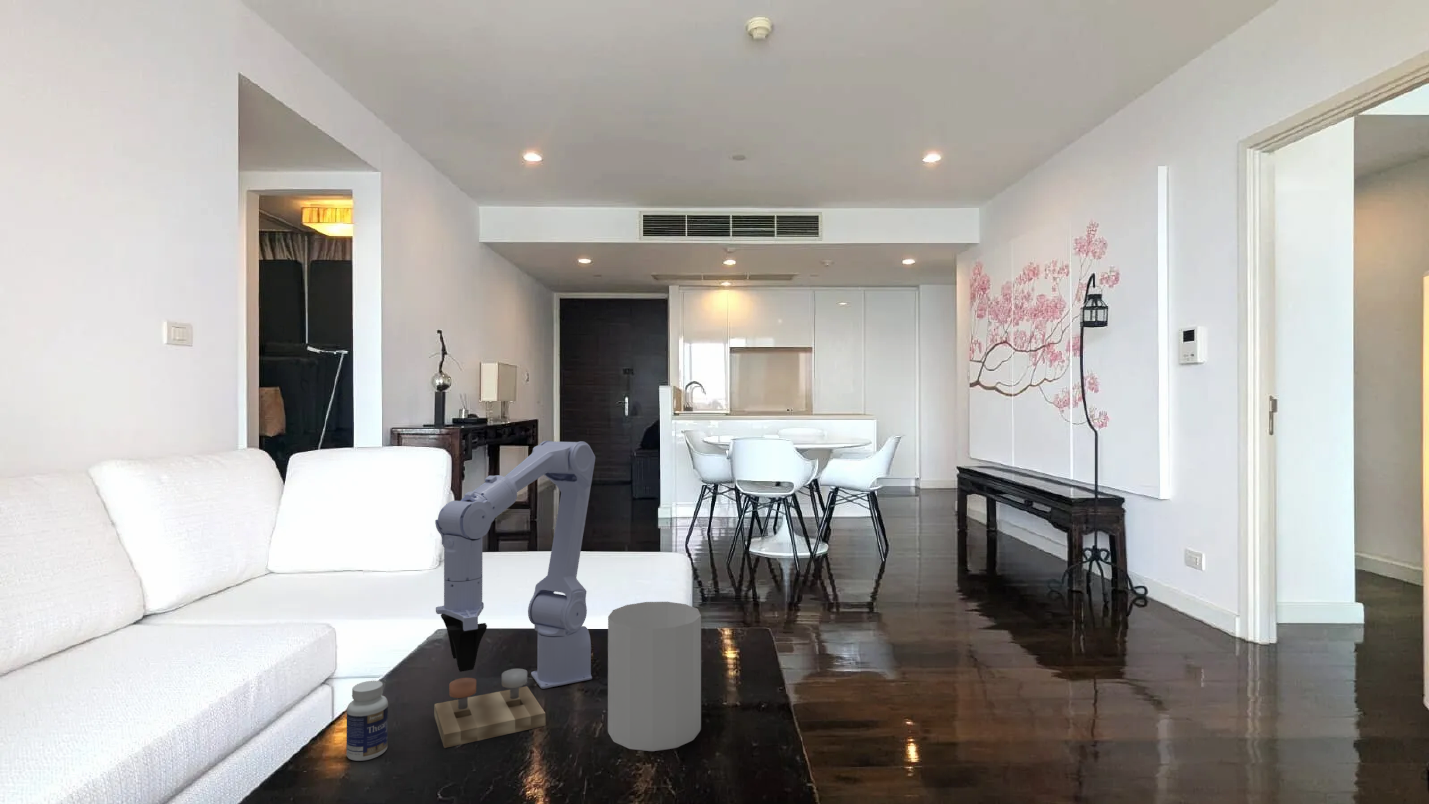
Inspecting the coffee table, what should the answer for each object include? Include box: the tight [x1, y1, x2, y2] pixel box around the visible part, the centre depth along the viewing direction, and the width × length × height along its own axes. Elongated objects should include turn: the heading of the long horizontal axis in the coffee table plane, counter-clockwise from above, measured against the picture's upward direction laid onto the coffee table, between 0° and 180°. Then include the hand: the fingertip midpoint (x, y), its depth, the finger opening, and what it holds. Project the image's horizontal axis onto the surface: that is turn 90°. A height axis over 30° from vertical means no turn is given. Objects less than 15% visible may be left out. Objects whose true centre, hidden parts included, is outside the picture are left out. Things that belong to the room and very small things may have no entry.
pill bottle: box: [345, 680, 389, 762], centre depth 100 cm, size 5×5×10 cm
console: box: [433, 685, 546, 749], centre depth 110 cm, size 15×12×2 cm
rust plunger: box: [448, 677, 477, 709], centre depth 108 cm, size 4×4×4 cm
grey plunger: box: [501, 668, 528, 699], centre depth 112 cm, size 4×4×4 cm
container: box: [607, 601, 702, 752], centre depth 108 cm, size 14×14×18 cm
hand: (463, 663), depth 108 cm, fingers open, 6 cm apart
